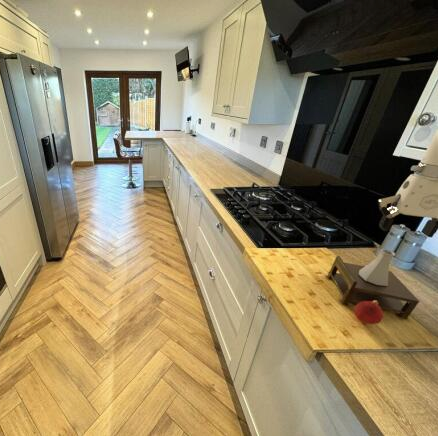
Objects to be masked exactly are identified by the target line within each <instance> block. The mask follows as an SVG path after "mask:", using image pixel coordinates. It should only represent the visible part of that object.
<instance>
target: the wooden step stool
mask: <svg viewBox="0 0 438 436" xmlns="http://www.w3.org/2000/svg"><path fill="white" fill-rule="evenodd" d="M365 266H366V265H359V264H355V263H349V262H346V261H345V262H344V260H343V259H342V258H341V256H340V255H336V256H335V260H334V261H333V263H332V265H331V267H330V269H329V271H328V274H327V276H326V277H327V279H329V280H332V281H333V283H334V284H335V286H336V287H337V290H338V292H339V293H340V295H341V299H340V302H341V303H340V304H342V305H344V306H348V305H349V303H350V302H352V303H356V304H358V303H360V302H363V301H370V302H372V301H374V300H375V301H378V305H379V306H380V307H381V309H382V310H386V311H391V312H396V313H397V315H398V316H399V318H401V319H405V320H407V319H408V318H409V317H410V315H411V313H412V312H413V311H414V310H415V308H416V307H417V306H418V304H419V303H420V300H419V299H418V298H417V297H416V296H415V295H414V293H412V292H411V290H409V288H407V286H406V285H405V284H404V283H402V281H401V280H400V279H399V278H398V276H396V275H395V274H394V272H392V271H391V270H389V271H388V286H382V285H376V284H373V283H371V282H368V281H365V280H364V279H363V278H362V277H361V276H360V275H359V270H361V269H362V268H364V267H365ZM402 301H403V302H405V303H402Z"/></svg>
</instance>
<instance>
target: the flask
mask: <svg viewBox="0 0 438 436" xmlns="http://www.w3.org/2000/svg"><path fill="white" fill-rule="evenodd" d="M395 256H396V252H394V251H392V250H389V249H387V248H381V249H380V253H379V255H377V257H376V258H375V259H373V260H372V261H371V262H370V263H368V264H366V265H364V266H365V267H364V268H362V269H361V270H359V275H360V276H361V277H362V278H363V279H364V280H365V281H368V282H371V283H373V284H376V285H382V286H388V271H390V270H389V269H390V264H391V261H392V259H393V258H394V257H395Z"/></svg>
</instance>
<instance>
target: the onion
mask: <svg viewBox="0 0 438 436" xmlns="http://www.w3.org/2000/svg"><path fill="white" fill-rule="evenodd" d="M354 314H355V316H356V317H357V319H358V320H359V321H360V322H361V323H363V324H366V325H376V324H380V323H381V322H382V321H383V319H384V315H385V314H384V310H383V309H382V308H381V307H380V306H379V305H378V301H375V300H374V301H372V302H370V301H363V302H360V303H356V305H355V306H354Z"/></svg>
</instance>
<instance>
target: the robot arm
mask: <svg viewBox="0 0 438 436" xmlns="http://www.w3.org/2000/svg"><path fill="white" fill-rule="evenodd" d="M410 171H412V172H413V173H411V174H410V175H409V176H408V177H407V178H406V179H405V180H404V181H403V183H402V184H401V186H400V187H399V189H398V190H397V192H396V193H395V195H392V196H388V197H383V198H380V199H378V200H377V205H378V209H379V211H380V212H381V214H382V217H381V219H380V221H379V223H378V226H379V228H380V229H381V230H382V231H384V232H388V231H390V228H391V226H392V224H393V222H394V218H395V217H396V216H398V215H400V214H401V215H405V216H412V217H420V218H421V217H422V218H430V219H428V220H427V221H426V223H425V224H424V226H423V228H422V230H421V234H423V235H425V236H426V237H428V238H433V237H434V235H435V234H436V233H437V232H438V128H437V129H436V131H435V132H434V134H433V137H432V138H431V140H430V142H429V144H428V146H427V148H426V150H425V152H424V154H423V156H422V158H421V159H420V162H418V164H417V165H412V166H411V167H410ZM388 204H390V207H387V206H388Z"/></svg>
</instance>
